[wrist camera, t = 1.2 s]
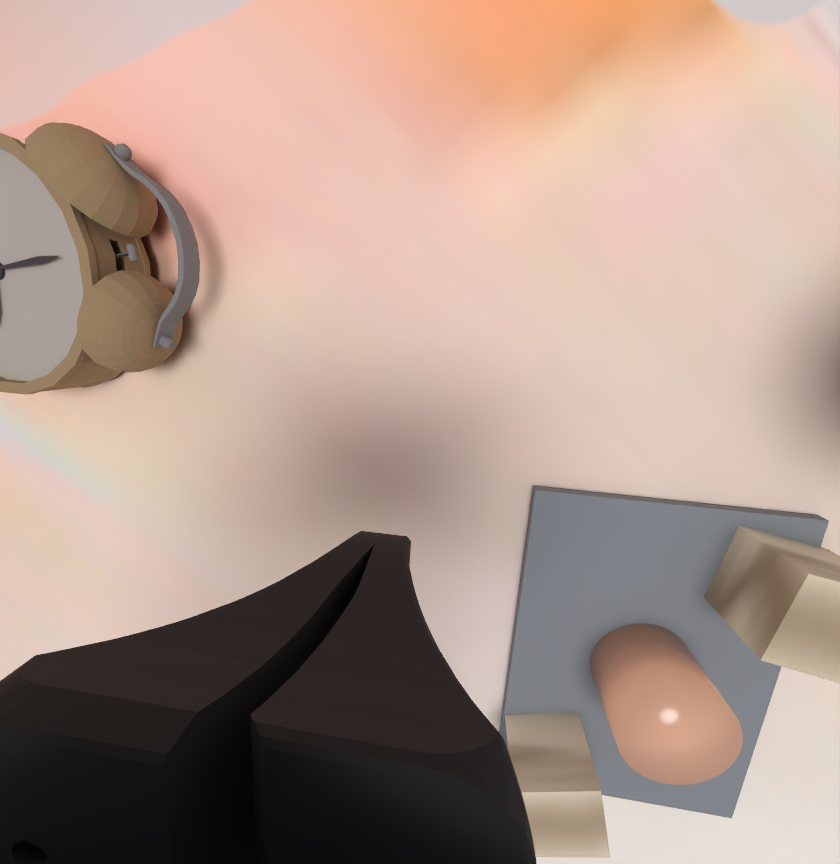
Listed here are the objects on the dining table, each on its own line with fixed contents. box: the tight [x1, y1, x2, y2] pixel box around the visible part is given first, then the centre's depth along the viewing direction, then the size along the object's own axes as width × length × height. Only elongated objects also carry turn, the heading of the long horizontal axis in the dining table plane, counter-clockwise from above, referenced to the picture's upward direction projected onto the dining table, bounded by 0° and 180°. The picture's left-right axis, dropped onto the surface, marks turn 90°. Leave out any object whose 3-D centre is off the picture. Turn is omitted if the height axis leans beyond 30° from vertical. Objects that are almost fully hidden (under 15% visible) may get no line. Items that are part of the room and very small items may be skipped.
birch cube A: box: [505, 712, 610, 858], centre depth 21 cm, size 4×4×4 cm
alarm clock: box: [0, 123, 200, 394], centre depth 19 cm, size 11×5×15 cm
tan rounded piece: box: [590, 623, 743, 785], centre depth 19 cm, size 5×5×4 cm
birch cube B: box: [704, 525, 840, 683], centre depth 17 cm, size 4×4×4 cm
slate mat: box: [500, 486, 829, 818], centre depth 21 cm, size 18×13×1 cm
